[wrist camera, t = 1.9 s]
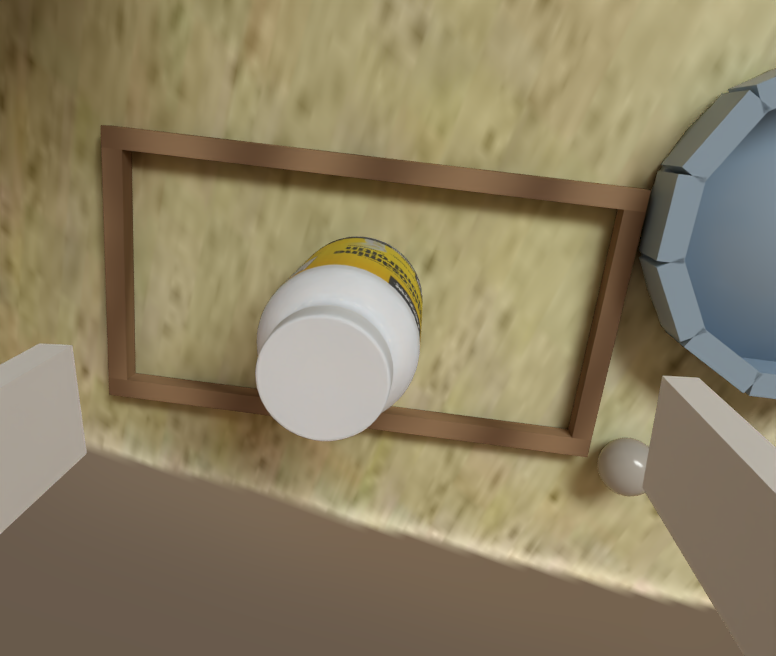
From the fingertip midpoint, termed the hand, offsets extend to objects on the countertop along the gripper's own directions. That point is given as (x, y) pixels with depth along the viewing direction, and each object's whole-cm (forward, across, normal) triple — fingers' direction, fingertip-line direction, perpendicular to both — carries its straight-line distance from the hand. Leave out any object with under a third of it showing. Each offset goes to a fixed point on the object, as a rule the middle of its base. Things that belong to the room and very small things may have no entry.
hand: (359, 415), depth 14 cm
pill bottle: (+18, -2, -2) cm, 19 cm away
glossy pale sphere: (+18, +12, -10) cm, 24 cm away
